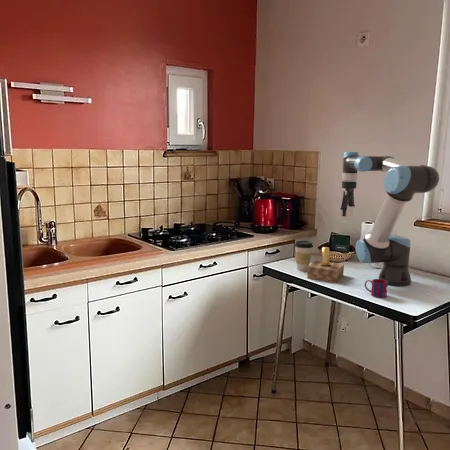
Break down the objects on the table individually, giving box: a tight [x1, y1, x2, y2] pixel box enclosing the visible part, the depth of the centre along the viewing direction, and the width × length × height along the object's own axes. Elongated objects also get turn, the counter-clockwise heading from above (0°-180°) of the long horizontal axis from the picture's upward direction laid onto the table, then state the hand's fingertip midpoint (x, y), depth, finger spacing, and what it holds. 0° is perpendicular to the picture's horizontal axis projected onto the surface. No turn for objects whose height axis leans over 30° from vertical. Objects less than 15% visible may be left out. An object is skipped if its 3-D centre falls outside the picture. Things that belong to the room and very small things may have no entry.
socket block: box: [306, 259, 345, 283], centre depth 234 cm, size 15×14×6 cm
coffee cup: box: [294, 240, 314, 272], centre depth 246 cm, size 10×10×15 cm
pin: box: [321, 246, 330, 267], centre depth 234 cm, size 4×4×14 cm
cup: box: [364, 278, 389, 299], centre depth 208 cm, size 7×10×7 cm
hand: (346, 220), depth 246 cm, fingers open, 13 cm apart
